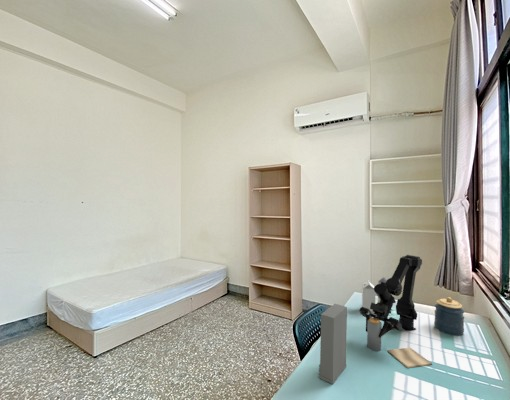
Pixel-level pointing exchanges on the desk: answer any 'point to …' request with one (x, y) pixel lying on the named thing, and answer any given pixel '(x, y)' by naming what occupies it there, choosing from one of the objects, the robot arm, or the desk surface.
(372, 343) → the canister
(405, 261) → the robot arm
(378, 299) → the aerosol can
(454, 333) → the canister
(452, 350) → the desk surface
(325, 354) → the tall grey pillar
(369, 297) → the milk carton
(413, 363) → the mat
